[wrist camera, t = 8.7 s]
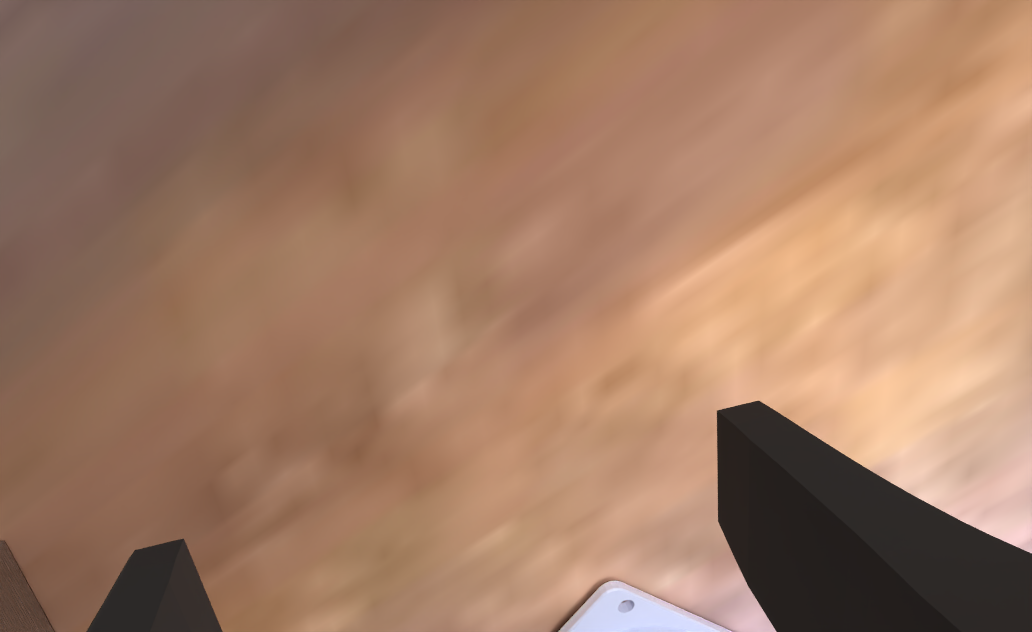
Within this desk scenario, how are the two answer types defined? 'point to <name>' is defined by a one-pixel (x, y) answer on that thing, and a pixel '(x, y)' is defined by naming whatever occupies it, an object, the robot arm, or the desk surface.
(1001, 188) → the desk surface
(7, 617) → the jack panel
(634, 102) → the desk surface
